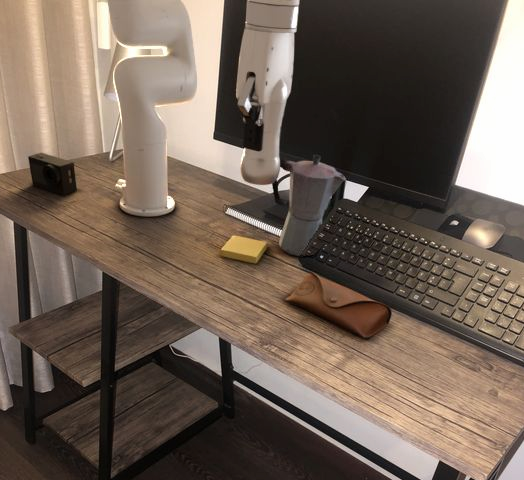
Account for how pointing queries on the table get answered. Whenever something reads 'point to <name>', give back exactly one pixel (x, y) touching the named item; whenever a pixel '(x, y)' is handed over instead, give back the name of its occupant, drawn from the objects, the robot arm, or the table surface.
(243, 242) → the sticky note pad
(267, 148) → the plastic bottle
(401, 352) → the table surface
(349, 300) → the sunglasses case
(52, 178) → the digital camera
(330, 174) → the moka pot
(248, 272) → the table surface
